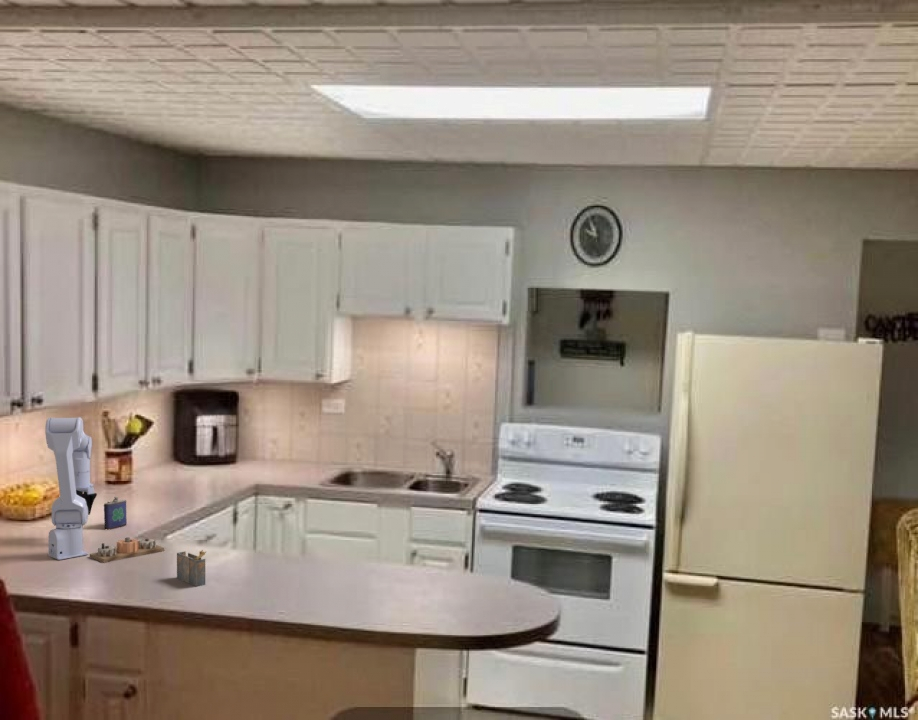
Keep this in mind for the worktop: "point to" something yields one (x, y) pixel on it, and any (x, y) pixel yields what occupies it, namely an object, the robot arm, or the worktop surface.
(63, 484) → the robot arm
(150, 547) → the gear board
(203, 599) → the worktop surface
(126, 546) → the gear
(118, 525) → the flask
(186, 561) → the grey-brown boxy piece
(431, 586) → the worktop surface
